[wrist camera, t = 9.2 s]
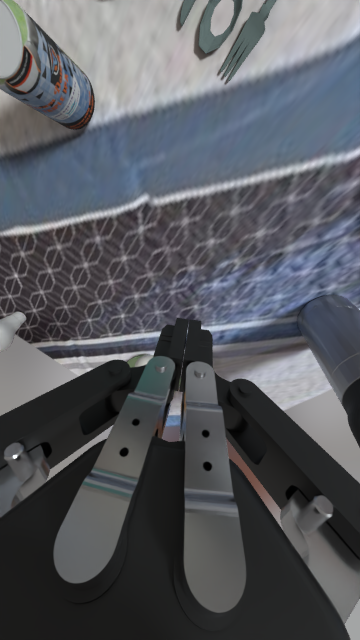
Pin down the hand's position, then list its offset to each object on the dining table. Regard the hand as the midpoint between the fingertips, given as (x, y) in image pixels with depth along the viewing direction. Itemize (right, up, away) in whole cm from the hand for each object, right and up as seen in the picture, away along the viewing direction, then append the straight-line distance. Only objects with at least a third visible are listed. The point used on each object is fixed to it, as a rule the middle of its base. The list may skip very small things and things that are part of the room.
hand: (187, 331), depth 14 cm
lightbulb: (-34, +2, +35) cm, 49 cm away
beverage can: (-14, +29, +15) cm, 35 cm away
